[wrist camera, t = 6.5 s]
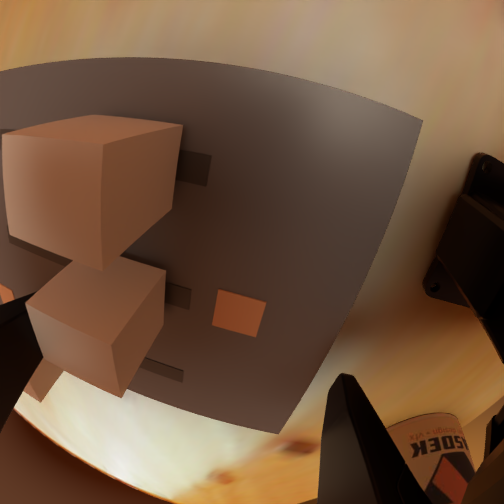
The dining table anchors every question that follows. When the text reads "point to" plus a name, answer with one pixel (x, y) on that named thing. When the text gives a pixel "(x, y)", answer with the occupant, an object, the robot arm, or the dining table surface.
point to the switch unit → (233, 219)
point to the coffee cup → (435, 455)
